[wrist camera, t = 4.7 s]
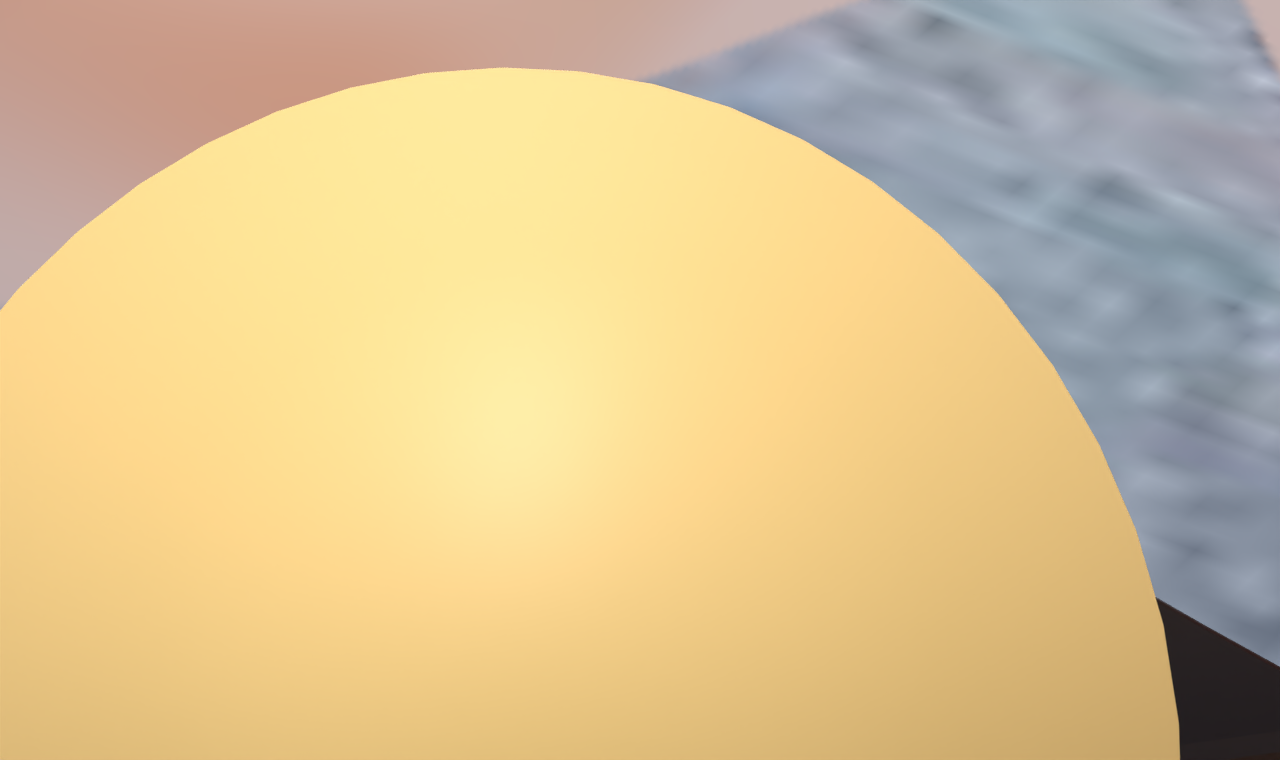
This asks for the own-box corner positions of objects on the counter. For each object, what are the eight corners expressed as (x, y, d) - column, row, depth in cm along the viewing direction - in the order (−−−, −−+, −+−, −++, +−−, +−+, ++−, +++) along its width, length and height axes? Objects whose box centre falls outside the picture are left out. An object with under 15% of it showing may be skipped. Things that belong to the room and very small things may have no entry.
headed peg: (793, 495, 15) (1425, 463, 2) (685, 684, 15) (709, 2002, 2) (614, 388, 16) (311, -118, 3) (504, 566, 15) (-454, 915, 2)
